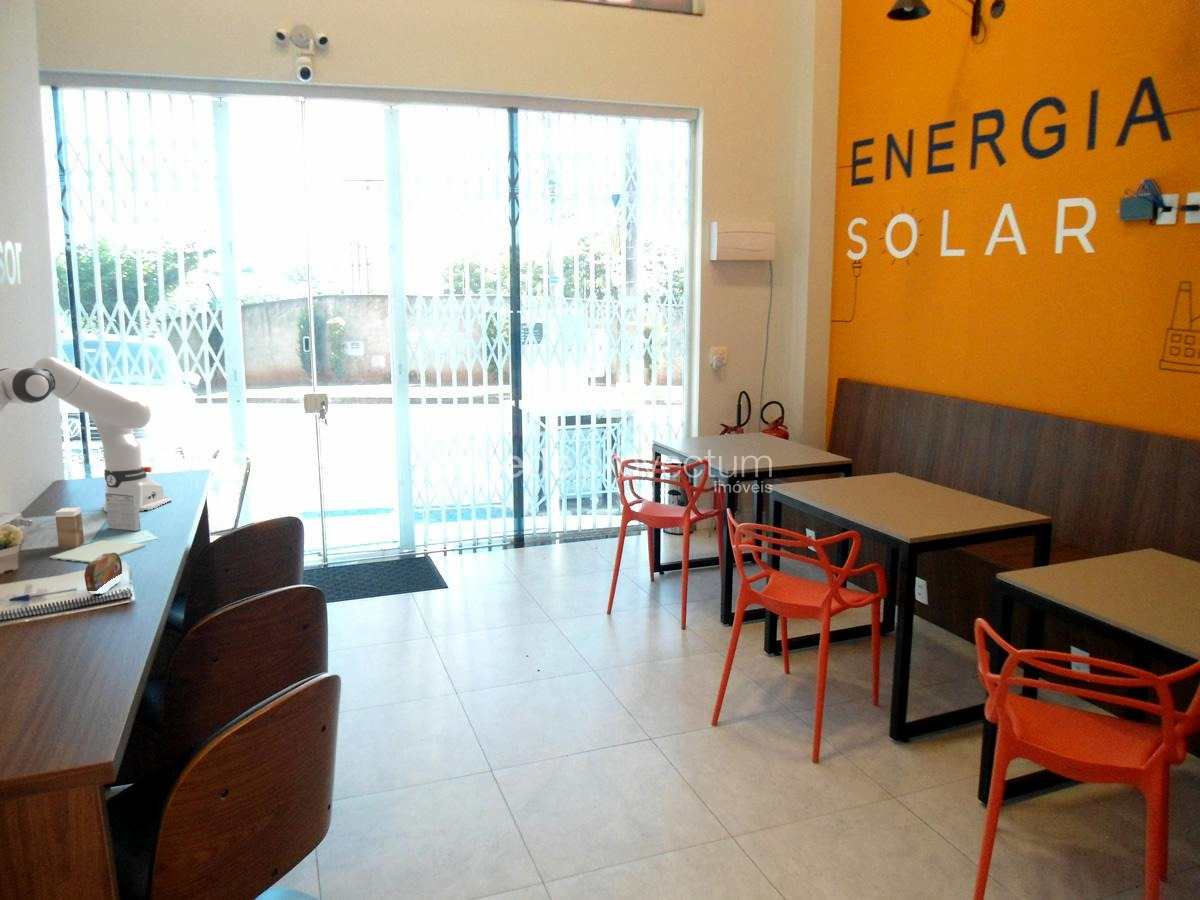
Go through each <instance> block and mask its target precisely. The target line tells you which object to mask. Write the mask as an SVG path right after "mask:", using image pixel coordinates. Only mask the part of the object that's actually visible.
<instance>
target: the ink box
mask: <svg viewBox="0 0 1200 900" xmlns="http://www.w3.org/2000/svg"><path fill="white" fill-rule="evenodd" d="M104 493H105V495H106V501H107V512H106V514H107V527H108V529H110V528H111V530H112V529H113V530H120V531H121V530H123V531H130V530H131V531H132V532H138V531H137V530H139V531H141V518H140V511H139V504H134V502H133V496H129V495H118V494H107V493H106V492H104ZM119 497H120V498H122V499H123V500H116V498H119ZM131 531H130V532H131Z"/></svg>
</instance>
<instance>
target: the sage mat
mask: <svg viewBox="0 0 1200 900" xmlns="http://www.w3.org/2000/svg"><path fill="white" fill-rule="evenodd" d="M145 547H146V544H144V543H133V542H125V541H123V542H122V541H115V540H104V539H101V540H97V541H94V542H91V543H87V544H86V545H85V544H83V545H81V546H80V547H78V548H71V549H70V550H66V551H63V552H60V553H57V554H54V555H51V556H49V559H50V558H52V559H51V560H57V559H61V560H60V561H66V560H72V561H71V562H74V561H82V562H81V563H83V562H92V561H94V560H95V559H97V558H98V557H100V556H101V555H103V554H107V553H117V554H118V555H119V557H120V556H123V555H125V554H128V553H131V552H134V551H137V550H140V549H142V548H145Z"/></svg>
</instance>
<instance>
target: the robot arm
mask: <svg viewBox="0 0 1200 900" xmlns="http://www.w3.org/2000/svg"><path fill="white" fill-rule="evenodd" d="M50 394H52V395H53V396H55V397H57V398H59V399H60V400H62V401H64V402H66V403H67V404H69V405H71V406H72V407H74V408H76V409H78V410H80V411H83V412H86V413H87V414H88V416H89V418H90V419H91V420H92V422H93V424H94V425H95V427H96V430H97V432H98V435H99V437H100V441H101V444H102V448H103V454H104V456H103V457H104V467H105V469H104V470H103V471H104V472H103V473H104V474H103V475H104V480H105V483H106V484H105V493H107V494H118V495H129V496H133V502H134V504H139V512H143V511H144V510H148V511H151V510H154V509H155V508H159V507H160V505H161V506H163V505H162V504H164V505H166V504H168V503H167V502H169V501H171V500H172V501H173V499H172V498H171V497H170V496H169V497H168V496H165V493H164V488H163V486H162V485H161V484H160V483H159V482H156V480H153V479H152V478H150V477H148V475H147V473H151V472H152V471H153V468H152V466H147V465H146V466H144V467H143V464H142V453H141V445H140V442H139V441H138V440H137V439H136V437H135V435H134V432H133V431H134V430H139V429H142V428H144V427H146V425H147V424H148V423H149V422H150V419H151V415H152V414H151V410H150V408H149V405H147V403H145V402H144V401H142V400H140V399H137V398H135V397H133V396H131V395H129V394H127V393H126V392H124V391H121V390H119V389H117V388H115V387H113V386H110V385H108V384H106V383H103V381H100V380H98V379H97V378H94V377H93V376H91V375H90V374H88V373H87V372H85V371H83V370H82V369H80V368H78V367H76V366H74V365H72V364H71V363H68V362H66V361H64V360H62V359H59V358H57V357H53V356H45V357H42V358H39V359H38V360H37V361H36V362H35V363H34V365H33V367H20V366H19V367H10V368H8V367H7V368H2V369H0V416H1V414H2V412H3V410H4V409H5V407H6V406H7V405H8V404H9V403H12V404H35V403H39V402H42V401H44V400H45V399H46V398H48V397H49V395H50ZM116 500H123V499H122V498H120V497H119V498H116ZM172 501H171V502H172ZM165 503H166V504H165ZM169 503H170V502H169ZM158 506H159V507H158ZM153 508H154V509H153ZM150 509H151V510H150ZM103 511H104V512H105V513H107V501H106V495H105V497H104V503H103ZM144 512H145V511H144ZM6 524H10V525H14V526H16V527H17V528H20V527H32V526H34V520H33V519H32V518H30V519H29V518H28V519H26V518H24V517H23V515H22V514H21V513H19V512H4V511H3V512H0V525H6Z"/></svg>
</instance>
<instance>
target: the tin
mask: <svg viewBox="0 0 1200 900" xmlns="http://www.w3.org/2000/svg"><path fill="white" fill-rule="evenodd" d="M122 573H123V563H122V560H121V557H120V556H119V555H118V554H117V553H107V554H103V555H101V556H100V557H98V558H97V559H95V560H94V561H92V562H91V563H87V565H86V568H85V571H84V575H83V576H84V582H85V587H86V591H87V592H88V591H97V590H98V589H99V588H100V587H102V586H103V585H104V584H106V583H107V582H108V581H110V580H111V579H113V578H115V577H116V576H118V575H120V574H122Z"/></svg>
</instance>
